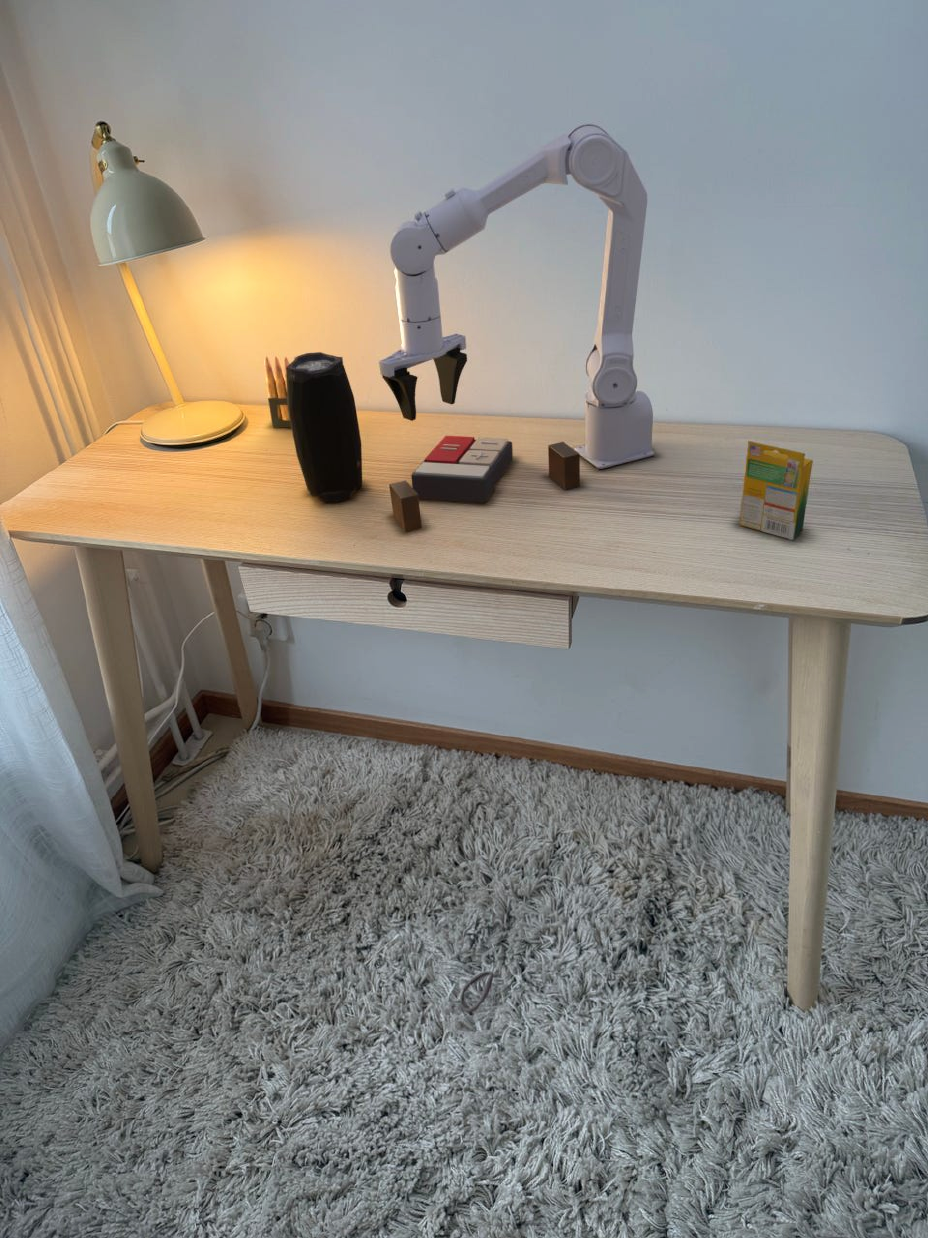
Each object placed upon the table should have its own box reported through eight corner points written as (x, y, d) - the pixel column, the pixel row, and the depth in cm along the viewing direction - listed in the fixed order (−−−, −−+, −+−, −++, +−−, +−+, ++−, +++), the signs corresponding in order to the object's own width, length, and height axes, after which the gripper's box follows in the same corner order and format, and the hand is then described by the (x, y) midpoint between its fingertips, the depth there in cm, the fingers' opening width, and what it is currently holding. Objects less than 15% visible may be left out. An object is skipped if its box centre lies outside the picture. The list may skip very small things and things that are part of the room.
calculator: (512, 436, 137) (484, 474, 125) (513, 463, 139) (486, 503, 127) (443, 432, 140) (409, 469, 128) (445, 459, 143) (412, 498, 130)
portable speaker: (378, 486, 135) (360, 355, 124) (330, 511, 129) (306, 376, 118) (341, 472, 140) (320, 345, 129) (292, 495, 134) (266, 365, 123)
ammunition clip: (272, 426, 158) (258, 357, 151) (276, 422, 159) (263, 354, 152) (329, 428, 155) (318, 358, 148) (333, 424, 156) (322, 355, 150)
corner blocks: (563, 473, 134) (563, 441, 131) (579, 486, 130) (579, 453, 127) (393, 516, 127) (388, 484, 124) (405, 532, 123) (401, 498, 120)
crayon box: (803, 531, 115) (816, 445, 108) (792, 541, 113) (805, 454, 107) (749, 516, 119) (758, 432, 113) (738, 525, 117) (747, 440, 111)
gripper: (439, 299, 133) (447, 389, 140) (360, 325, 125) (373, 419, 133) (473, 306, 128) (479, 399, 136) (393, 333, 121) (404, 431, 128)
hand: (429, 410), depth 134 cm, fingers open, 7 cm apart
